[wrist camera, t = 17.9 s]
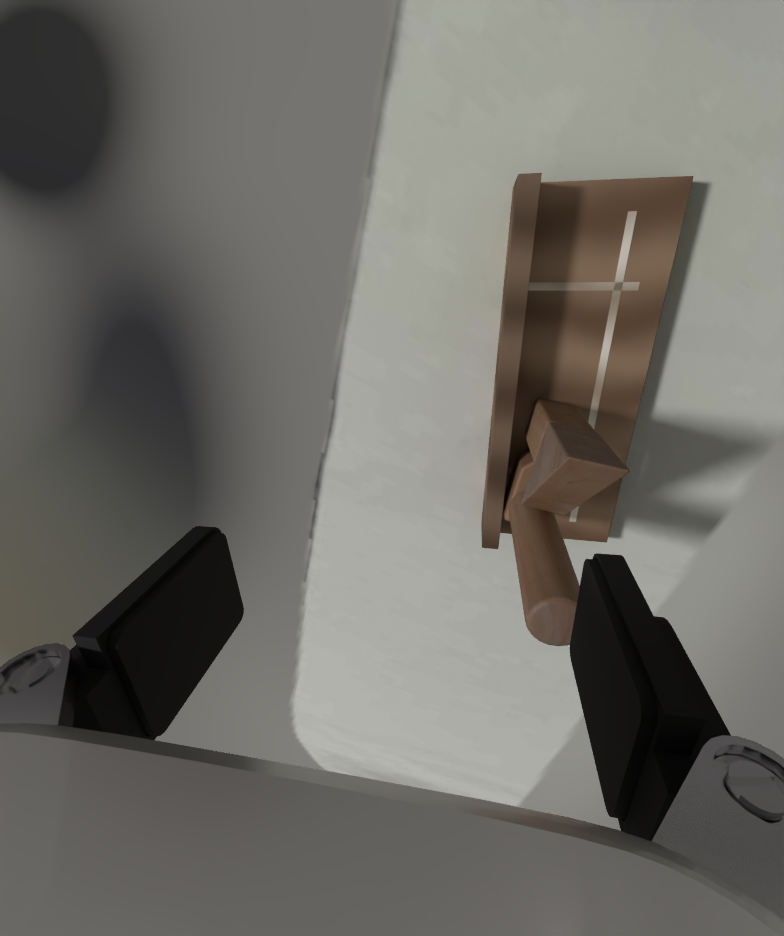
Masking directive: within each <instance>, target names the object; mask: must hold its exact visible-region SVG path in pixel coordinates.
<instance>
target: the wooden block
mask: <svg viewBox="0 0 784 936" xmlns="http://www.w3.org/2000/svg"><path fill="white" fill-rule="evenodd" d="M525 437H526V440H527V443H528V446H529V449H527V450H525V451H523V452H521V453H519V454H518V456H517V458H516V461H515V464H514V467H513V470H512V473H511V476H510V479H509V483H508V486H507V489H506V492H505V495H504V503H503V511H504V518H505V520H507V521H510V523H511V530H512V537H513V543H514V550H515V556H516V563H517V570H518V576H519V583H520V590H521V596H522V603H523V609H524V616H525V622H526V626H527V628H528V630H529V631H530V633H531V634H532V635H533V636H534V637H535V638H536V639H538V640H539V641H541V642H543V643H546V644H548V645H554V646H564V645H570V641H571V635H572V629H573V623H574V618H575V612H576V606H577V600H578V595H579V589H580V586H579V583H578V580H577V577H576V574H575V572H574V569H573V566H572V563H571V560H570V557H569V554H568V552H567V549H566V546H565V543H564V540H563V537H562V535H561V532H560V529H559V526H558V523H557V520H556V517H555V515H554V513H557V514H561V515H566V514H567V513H569V512H570V511H572V510H573V509H575V508H576V507H578V506H579V505H581V504H582V503H584V502H585V501H587V500H588V499H590V498H591V497H593V496H594V495H596V494H597V493H599V492H600V491H602V490H603V489H605V488H606V487H608V486H609V485H611V484H612V483H614V482H615V481H617V480H618V479H620V478H621V477H623V476H624V475H626V474H627V473H628V472H629V469H628V468H627V467H626V466H625V464H624V463H623V462H622V461H621V460H620V458H619V457H618V456H617V455H616V454H615V452H614V451H613V450H612V449H611V448H610V447H609V445H608V444H607V443H606V442H605V441H604V439H603V438H602V437H601V436H600V435H599V434H598V433H597V432H595V430H594V429H593V428H592V427H591V425H590V424H589V423H588V422H587V421H586V419H585V418H584V417H583V416H582V415H581V413H580V412H579V411H578V410H577V409H576V408H575V407H574V406H571V405H566V404H561V403H557V402H552V401H547V400H543V399H537V400H536V401H535V402H534V405H533V408H532V411H531V414H530V417H529V421H528V424H527V427H526V430H525Z"/></svg>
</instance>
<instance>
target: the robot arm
mask: <svg viewBox="0 0 784 936" xmlns="http://www.w3.org/2000/svg"><path fill="white" fill-rule="evenodd" d="M243 613H244V608H243V603H242V599H241V596H240V591H239V587H238V583H237V579H236V575H235V571H234V568H233V563H232V559H231V555H230V551H229V547H228V543H227V539H226V536H225V535H224V534H223V533H221V531H220V530H219V529H218V528H216V527H201V526H197V527H194V528H193V529H192V530H191V531H189V532H188V533H187V534H186V535H185V536H184V537H183V538H181V539H180V540H179V541H178V542H177V543H176V544H175V545H174V546H172V547H171V548H170V549H169V550H168V551H167V552H166V553H165V554H164V555H163V556H161V557H160V558H159V559H158V560H157V561H156V562H155V563H153V564H152V565H151V566H150V567H149V568H148V569H147V570H146V571H144V572H143V573H142V574H141V575H140V576H139V577H138V578H137V579H136V580H134V581H133V582H132V583H131V584H130V585H129V586H128V587H126V588H125V589H124V590H123V591H122V592H121V593H120V594H119V595H118V596H116V597H115V598H114V599H113V600H112V601H111V602H110V603H109V604H107V605H106V606H105V607H104V608H103V609H102V610H101V611H100V612H98V613H97V614H96V615H95V616H94V617H93V618H92V619H91V620H89V621H88V622H87V623H86V624H85V625H84V626H83V627H82V628H81V629H79V630H78V631H77V632H76V633H75V634H74V635H73V638H74V640H75V642H76V644H77V645H76V646H74V647H73V648H72V649H71V650H69V648H68V647H67V646H66V645H63V644H59V643H51V644H44V645H41V646H37V647H34V648H31V649H29V650H27V651H24V652H22V653H20V654H18V655H17V656H15V657H13V658H12V659H10V660H8V661H7V662H6V663H5V664H3V665H2V666H1V667H0V936H784V758H782V757H781V756H779V755H778V754H776V753H775V752H774V751H772V750H770V749H768V748H766V747H764V746H762V745H760V744H758V743H756V742H754V741H751V740H747V739H745V738H741V737H738V736H731V735H730V733H729V731H728V729H727V727H726V726H725V724H724V722H723V720H722V718H721V716H720V714H719V713H718V711H717V709H716V707H715V705H714V704H713V702H712V700H711V698H710V696H709V695H708V692H707V691H706V689H705V687H704V685H703V683H702V681H701V679H700V678H699V676H698V674H697V672H696V670H695V668H694V667H693V665H692V663H691V661H690V659H689V657H688V655H687V654H686V652H685V650H684V648H683V646H682V644H681V643H680V641H679V639H678V637H677V635H676V633H675V632H674V630H673V628H672V626H671V625H670V623H669V622H668V620H666V619H665V618H663V617H654V616H653V614H652V612H651V610H650V608H649V606H648V604H647V602H646V600H645V598H644V596H643V594H642V592H641V590H640V588H639V586H638V584H637V582H636V581H635V579H634V577H633V575H632V573H631V571H630V569H629V567H628V565H627V563H626V561H625V559H624V557H623V556H621V555H610V554H594V556H593V559H586V560H585V562H584V566H583V572H582V577H581V583H580V589H579V595H578V600H577V606H576V612H575V618H574V623H573V629H572V635H571V641H570V657H571V662H572V666H573V670H574V675H575V679H576V683H577V687H578V692H579V696H580V700H581V704H582V709H583V713H584V717H585V721H586V726H587V730H588V734H589V738H590V743H591V747H592V751H593V755H594V759H595V764H596V768H597V772H598V776H599V781H600V785H601V789H602V793H603V798H604V802H605V806H606V809H607V812H608V814H609V816H610V817H615V818H618V821H619V825H620V828H621V831H619V830H616V829H611V828H608V827H604V826H600V825H596V824H592V823H588V822H585V821H580V820H576V819H573V818H569V817H564V816H559V815H554V814H549V813H544V812H539V811H534V810H530V809H525V808H520V807H515V806H510V805H505V804H501V803H496V802H491V801H486V800H481V799H476V798H470V797H465V796H460V795H454V794H449V793H443V792H438V791H433V790H427V789H422V788H417V787H411V786H406V785H400V784H395V783H390V782H384V781H379V780H374V779H368V778H363V777H357V776H352V775H346V774H341V773H335V772H330V771H324V770H319V769H313V768H308V767H302V766H296V765H291V764H286V763H280V762H274V761H269V760H263V759H257V758H251V757H246V756H241V755H235V754H230V753H224V752H218V751H213V750H207V749H201V748H195V747H189V746H184V745H178V744H172V743H166V742H160V741H155V738H156V737H157V736H160V735H162V734H163V733H164V732H165V731H166V729H167V728H168V726H169V725H170V724H171V722H172V721H173V719H174V718H175V716H176V715H177V713H178V712H179V711H180V709H181V708H182V706H183V705H184V703H185V702H186V700H187V699H188V697H189V696H190V695H191V693H192V692H193V690H194V689H195V687H196V686H197V684H198V683H199V681H200V680H201V678H202V677H203V676H204V674H205V673H206V671H207V670H208V668H209V667H210V665H211V664H212V662H213V661H214V660H215V658H216V657H217V655H218V654H219V652H220V651H221V649H222V648H223V646H224V645H225V643H226V642H227V641H228V639H229V638H230V636H231V635H232V633H233V632H234V630H235V629H236V627H237V626H238V624H239V623H240V621H241V620H242V617H243Z"/></svg>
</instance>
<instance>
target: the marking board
mask: <svg viewBox="0 0 784 936" xmlns="http://www.w3.org/2000/svg"><path fill="white" fill-rule="evenodd" d="M541 174H542V173H531V174H518V177H517V179H516V182H515V184H514V187H513V194H512V204H511V215H510V226H509V236H508V247H507V258H506V268H505V279H504V290H503V300H502V311H501V321H500V332H499V343H498V353H497V364H496V375H495V385H494V396H493V406H492V417H491V428H490V438H489V449H488V460H487V470H486V481H485V491H484V502H483V513H482V523H481V524H482V548H492V549H498V546H499V537H500V533H509V534H512V530H511V523H510V521H507V520H505V518H504V511H503V503H504V495H505V492H506V489H507V486H508V483H509V479H510V476H511V473H512V470H513V467H514V464H515V461H516V458H517V456H518V454H519V453H521V452H523V451H525V450H527V449H529V446H528V443H527V440H526V437H525V430H526V427H527V424H528V421H529V417H530V414H531V411H532V408H533V405H534V402H535V401H536V400H537V399H543V400H547V401H552V402H557V403H561V404H566V405H571V406H574V407H575V408H576V409H577V410H578V411H579V412H580V413H581V415H582V416H583V417H584V418H585V419H586V421H587V422H588V423H589V424H590V425H591V427H592V428H593V429H594V430H595V432H597V433H598V434H599V435H600V436H601V437H602V438H603V439H604V441H605V442H606V443H607V444H608V445H609V447H610V448H611V449H612V450H613V451H614V452H615V454H616V455H617V456H618V457H619V458H620V460H621V461H622V462H623V463H624V464H625V463H626V459H627V455H628V450H629V446H630V442H631V438H632V434H633V429H634V425H635V421H636V417H637V412H638V408H639V404H640V400H641V396H642V391H643V387H644V383H645V379H646V374H647V370H648V366H649V362H650V358H651V353H652V349H653V345H654V341H655V336H656V332H657V328H658V324H659V320H660V315H661V311H662V307H663V303H664V299H665V294H666V290H667V286H668V282H669V277H670V273H671V269H672V265H673V261H674V256H675V252H676V248H677V244H678V239H679V235H680V231H681V227H682V223H683V218H684V214H685V210H686V206H687V201H688V197H689V193H690V189H691V185H692V180H693V176H684V177H660V178H636V179H613V180H589V181H565V182H542V183H541ZM621 480H622V477H621V478H620V479H618V480H617V481H615V482H614V483H612V484H611V485H609V486H608V487H606V488H605V489H603V490H602V491H600V492H599V493H597V494H596V495H594V496H593V497H591V498H590V499H588V500H587V501H585V502H584V503H582V504H581V505H579V506H578V507H576V508H575V509H573V510H572V511H570V512H569V513H567V514H566V515H561V514H557V513H554V515H555V517H556V520H557V523H558V526H559V529H560V532H561V535H562V537H563V538H564V539H575V540H586V541H597V542H607V539H608V535H609V531H610V526H611V522H612V518H613V514H614V510H615V505H616V501H617V497H618V493H619V488H620V484H621Z"/></svg>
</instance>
